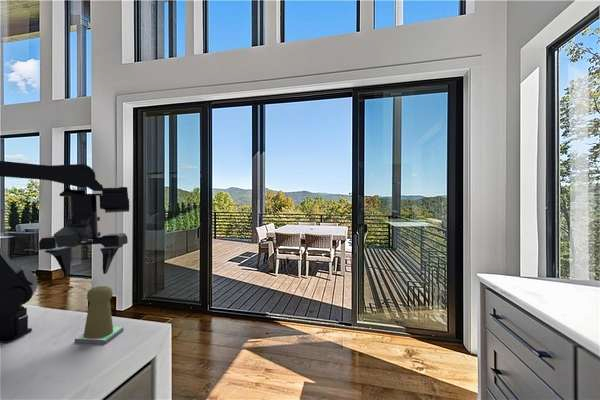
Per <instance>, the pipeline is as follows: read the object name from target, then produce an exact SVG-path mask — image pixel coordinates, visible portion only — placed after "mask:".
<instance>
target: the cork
mask: <svg viewBox="0 0 600 400" xmlns="http://www.w3.org/2000/svg"><path fill="white" fill-rule="evenodd" d="M113 294H114V293H113V289H112V287H110V286H106V285H99V286H95V287H92V288H90V289H88V291H87V293H86V299H87V301H88V304H89V305H88V308H87V315H86V321H85V325H84V331H83V334H84V337H85V338H88V339H97V338H102V337H105V336H108V335H110V334H111V333H113V327H114V325H113V317H112V309H111V299H112V297H113Z"/></svg>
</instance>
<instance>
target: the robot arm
mask: <svg viewBox="0 0 600 400" xmlns="http://www.w3.org/2000/svg"><path fill="white" fill-rule="evenodd" d="M0 177H1V178H2V177H3V178H4V177H5V178H14V179H15V178H16V179H27V180H29V179H30V180H40V181H41V180H43V181H50V182H55V183H59V184H63V185H68V186H66V187H65V189H64V190H63V191H62V192H60V193H59V197H68V198H69V199H68V200H69V201H68V202H69V217H70V218H66V221H65V222H66V225H65V227H62V228H60V229H59V230H58V231H56V232H55V233H53V235H52V236H46V237H41V238H40V240H39V241H38V250H44V252H45V253H46V254H49V255H51V256H53V257H54V258H55V260H56V262H57V263H58V265H59V267H60V269H61V270H62V271H61V272H62V273H63V275H64V276H65V277H68V276H70V274H71V273H70V272H71V256H72V248H75V247H78V246H82V245H84V246H87V245H102V246H103V247H102V248H100V249H99V251H100V252H101V254H102V273H103V275H106V274H107V273H108V271H109V269H110V267H111V264H112V262H113V260H114V257H115V255H116V253H117V252H118V250H119V249H120V248H122V247H123V245H126V244H128V242H129V241H128V236H127V234H126V233H125V232H124V233H123V232H118V233H108V234H104V235H102V234H101V232H100V231H99V229H98V228H99V226H98V222H99V221H101V217H100V216H98V205H97V204H98V203H97V202H98V201H97V197H98V196H99V210H103V211H104V213H107V214H108V213H126V212H127V213H128V212H130V198H129V191H128V187H127V186H120V187H104V186H103V184H100V182H99V181H98V180H97V179H96V177H97V176H96V172H95V171H94V169H93V168H92V167H90V166H89V165H87V164H82V163H77V164H76V163H75V164H57V165H53V164H52V165H48V164H47V165H46V164H39V163H29V162H28V163H26V162H16V161H8V160H7V161H5V160H0ZM69 186H72V187H78V188H88V189H90V190H91V191H94V192H101V193H87V191H86V189H72V188H71V187H69ZM98 231H99V232H98ZM101 235H102V236H101ZM37 280H38V276H37V275H36V274H34V273H33V272H32V269H31V268H30V266H29V265H28V264H26V265H25V266H23V267H20V266H19V265H17V264H16V263H14V262H13V261H12V259H10V257H9V256H8V254H7V253H6V252H5V251H4V249H2V247H1V246H0V343H5V344H6V343H10V342H12V341H14V340H16V339H18V338H21V337H22V336H25V335H26V334H29V333H30V332H32V331H33V328H32V327H31V328H30V327H29V314H27V312H28V307H25V306H24V305H26V304H27V303H28V302H29V301H30V300H31V299H32V297H33V296H34V294H35V292H36V291H37V289H38V281H37Z"/></svg>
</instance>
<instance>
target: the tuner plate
mask: <svg viewBox="0 0 600 400" xmlns="http://www.w3.org/2000/svg"><path fill="white" fill-rule="evenodd" d="M123 332H124V327H119V326H118V327H116V326H113V333H111V334H110V335H108V336H105V337H102V338H97V339H88V338H85V337H84V333H82V334H80V335H79V336H78V337H76V338H74V343H76V344H77V343H79V344H96V345H97V344H98V345H106V344H108V343H109V342H111V341H112V340H113V339H114V338H115V337H117V336H119V335H120V334H121V333H123Z"/></svg>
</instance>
